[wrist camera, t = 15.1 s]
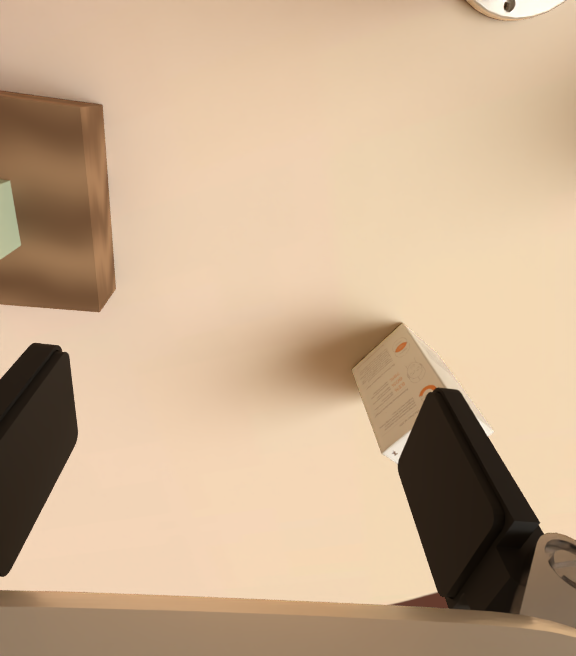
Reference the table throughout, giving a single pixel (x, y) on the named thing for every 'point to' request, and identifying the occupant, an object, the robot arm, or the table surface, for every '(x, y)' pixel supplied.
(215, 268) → the table surface
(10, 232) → the sage block
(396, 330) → the small box
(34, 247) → the walnut base
